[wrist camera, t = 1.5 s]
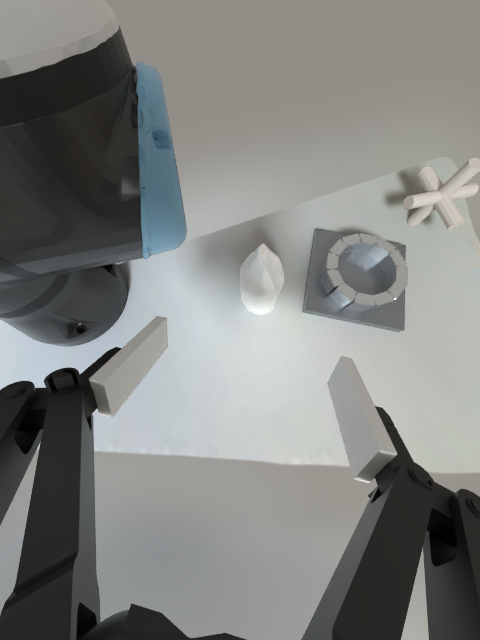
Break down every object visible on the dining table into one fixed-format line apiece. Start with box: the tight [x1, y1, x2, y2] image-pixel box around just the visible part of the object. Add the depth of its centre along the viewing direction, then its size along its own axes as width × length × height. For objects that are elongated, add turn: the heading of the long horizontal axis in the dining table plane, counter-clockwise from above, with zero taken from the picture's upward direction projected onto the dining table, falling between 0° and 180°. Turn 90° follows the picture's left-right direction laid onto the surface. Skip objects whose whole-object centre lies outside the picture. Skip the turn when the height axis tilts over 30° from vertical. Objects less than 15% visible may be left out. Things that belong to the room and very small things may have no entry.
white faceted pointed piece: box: [239, 244, 284, 315], centre depth 26 cm, size 6×12×6 cm
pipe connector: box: [403, 158, 480, 230], centre depth 31 cm, size 10×10×10 cm
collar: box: [303, 229, 408, 332], centre depth 31 cm, size 14×14×4 cm
